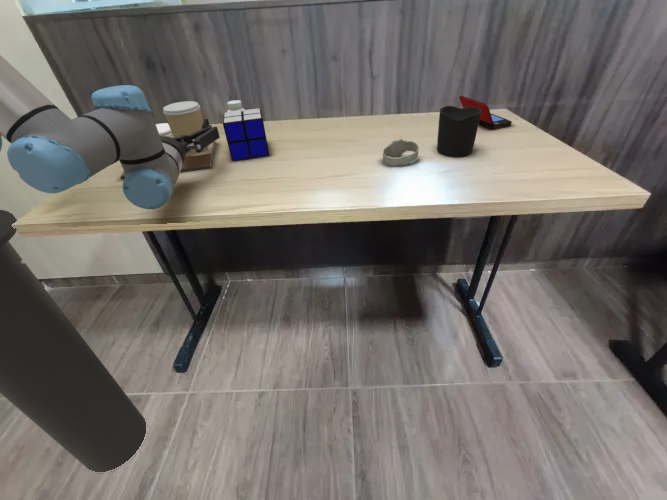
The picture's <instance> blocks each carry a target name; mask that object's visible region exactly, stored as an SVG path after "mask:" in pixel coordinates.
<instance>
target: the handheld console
mask: <svg viewBox="0 0 667 500" xmlns="http://www.w3.org/2000/svg"><path fill="white" fill-rule="evenodd" d="M458 99H459V101H460V104H461V107H462V109H463V108H469V107H478V108H480V109H481V116H480V120H479V125H481V126H483V127H485V128H488V129H490V130H494V129H499V128H503V127H508V126H511V125H512V123H513V121H511V120H510V119H507V118H506V117H505V118H504V117H502V116H500V115H496V114H493V113H491V110H490V107H489V105H488V104H487V103H485V102H481V101H478V100H476V99H473V98H470V97H466V96H463V95H460V96H459V98H458Z"/></svg>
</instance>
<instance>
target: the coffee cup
mask: <svg viewBox="0 0 667 500" xmlns="http://www.w3.org/2000/svg"><path fill="white" fill-rule="evenodd" d="M162 109H163V110H162V114H163V115H164V117H165V120H166V123H168V124H169V127H170V129H171V132H172V134H173V137H175V138H176V137H179V136H181V135H189V134H192V133H194V132H196V131H199V130H201V129H202V125H203V122H204V119H203V115H202V111H201V105H200V104H199V103H198V102H197V101H194V100H193V101H192V100H185V101H179V102H173V103H169V104H168V105H165V106H164V107H163V108H162ZM182 141H183V140H182ZM207 149H208V146H207V147H205V148H204V149H203V150H202V152H200V153H203V152H205V151H206V150H207ZM200 153H197V152H196V151H195V149H193V150H190V151H189V152H188V153H186V155H196V154H200Z"/></svg>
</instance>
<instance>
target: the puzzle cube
mask: <svg viewBox="0 0 667 500" xmlns="http://www.w3.org/2000/svg"><path fill="white" fill-rule="evenodd" d="M222 117H223V119H222V126H223V130H224V134H225V135H224V136H225V139H226V142H227V146H228V147H227V148H228V151H229V154H230V158H231V161H233V162H235V161H241V160H248V159H256V158H262V157H269V155H270V150H269V145H268V140H267V139H268V138H267V134H266V129H265V123H264V117H263V113H262V110H261V108H260V107H258V108H252V109H251V108H250V109H244V110H243V111H233V112H227V111H225V112H224V113H223V116H222Z"/></svg>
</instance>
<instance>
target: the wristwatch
mask: <svg viewBox="0 0 667 500" xmlns="http://www.w3.org/2000/svg"><path fill="white" fill-rule="evenodd" d="M419 146H420V145H419V144H418V143H416V142H415V141H411V140H404V139H403V138H399V139H396V140H392V141H391V142H390V143H389V144H388V145H387V146H385V147H384V148H383V150H382V163H383V164H384V165H385V166H389V167H400V166H407V165H410V163H412V162H414V161H416V160H417V158H418V157H419V149H420V147H419ZM407 152H413V153H409V154H405V155H403V154H404V153H407Z"/></svg>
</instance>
